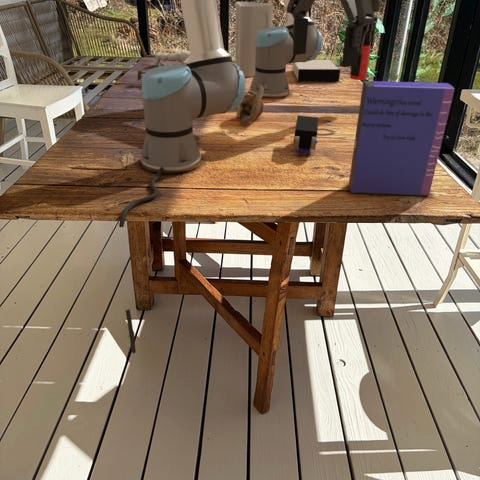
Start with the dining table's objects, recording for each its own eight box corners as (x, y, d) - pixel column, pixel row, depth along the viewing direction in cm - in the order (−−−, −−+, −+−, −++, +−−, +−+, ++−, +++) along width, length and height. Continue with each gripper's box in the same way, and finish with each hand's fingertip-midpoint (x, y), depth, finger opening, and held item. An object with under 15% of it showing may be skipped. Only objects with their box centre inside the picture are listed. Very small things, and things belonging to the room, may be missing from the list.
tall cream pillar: (273, 76, 210) (276, 6, 196) (239, 77, 209) (240, 6, 194) (266, 67, 226) (268, 2, 212) (235, 67, 225) (235, 1, 210)
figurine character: (316, 163, 128) (316, 138, 139) (319, 137, 123) (319, 114, 135) (291, 161, 128) (293, 137, 140) (293, 135, 124) (295, 112, 135)
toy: (173, 74, 211) (173, 58, 207) (150, 64, 229) (148, 49, 225) (220, 68, 223) (220, 53, 219) (194, 59, 240) (194, 44, 237)
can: (354, 75, 165) (359, 44, 160) (369, 78, 162) (374, 46, 157) (347, 78, 161) (351, 46, 156) (361, 80, 158) (366, 48, 153)
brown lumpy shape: (251, 126, 162) (245, 130, 148) (232, 108, 161) (224, 111, 147) (276, 97, 158) (272, 99, 144) (257, 79, 157) (251, 79, 143)
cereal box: (423, 187, 112) (447, 82, 100) (428, 195, 108) (454, 87, 96) (348, 184, 113) (363, 79, 101) (351, 192, 109) (367, 85, 96)
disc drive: (297, 81, 203) (298, 69, 200) (291, 70, 222) (292, 58, 220) (338, 81, 203) (340, 69, 201) (329, 70, 223) (330, 59, 220)
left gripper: (411, -76, 73) (387, 69, 84) (303, -72, 90) (295, 48, 101) (377, -78, 69) (357, 74, 80) (272, -73, 86) (267, 51, 97)
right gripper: (368, -1, 141) (357, 80, 153) (391, -4, 153) (379, 71, 165) (345, -2, 144) (336, 77, 156) (369, -6, 157) (359, 68, 169)
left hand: (322, 59), depth 90 cm, fingers open, 13 cm apart
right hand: (358, 73), depth 161 cm, fingers closed on can, 5 cm apart
